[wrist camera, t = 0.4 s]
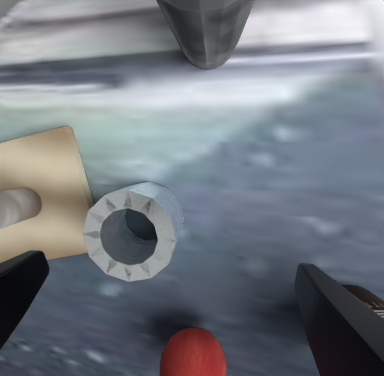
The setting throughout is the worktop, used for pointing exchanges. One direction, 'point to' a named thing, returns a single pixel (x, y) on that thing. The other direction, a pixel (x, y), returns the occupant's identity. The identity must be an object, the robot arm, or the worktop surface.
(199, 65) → the beverage cup
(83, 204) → the post board
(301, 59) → the worktop surface
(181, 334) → the onion
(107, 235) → the steel ring
